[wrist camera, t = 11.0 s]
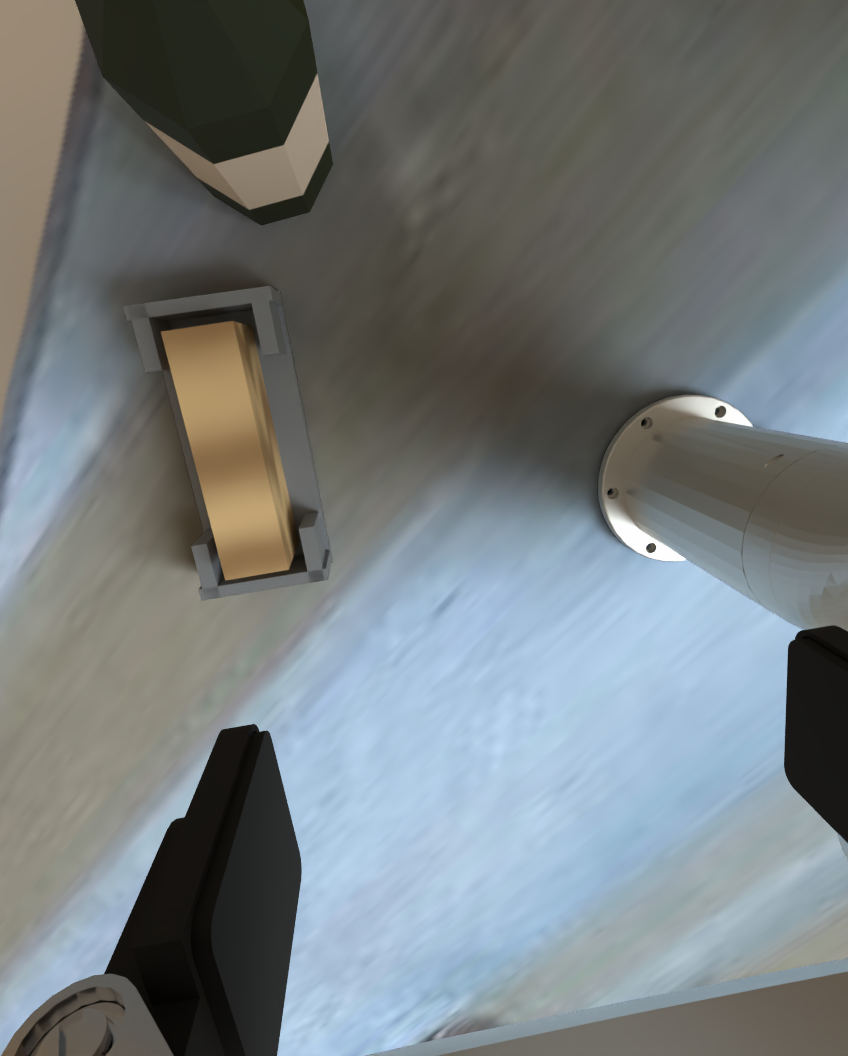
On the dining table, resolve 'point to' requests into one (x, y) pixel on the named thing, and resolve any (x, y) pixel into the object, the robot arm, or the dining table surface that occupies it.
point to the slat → (233, 446)
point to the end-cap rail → (287, 416)
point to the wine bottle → (223, 93)
